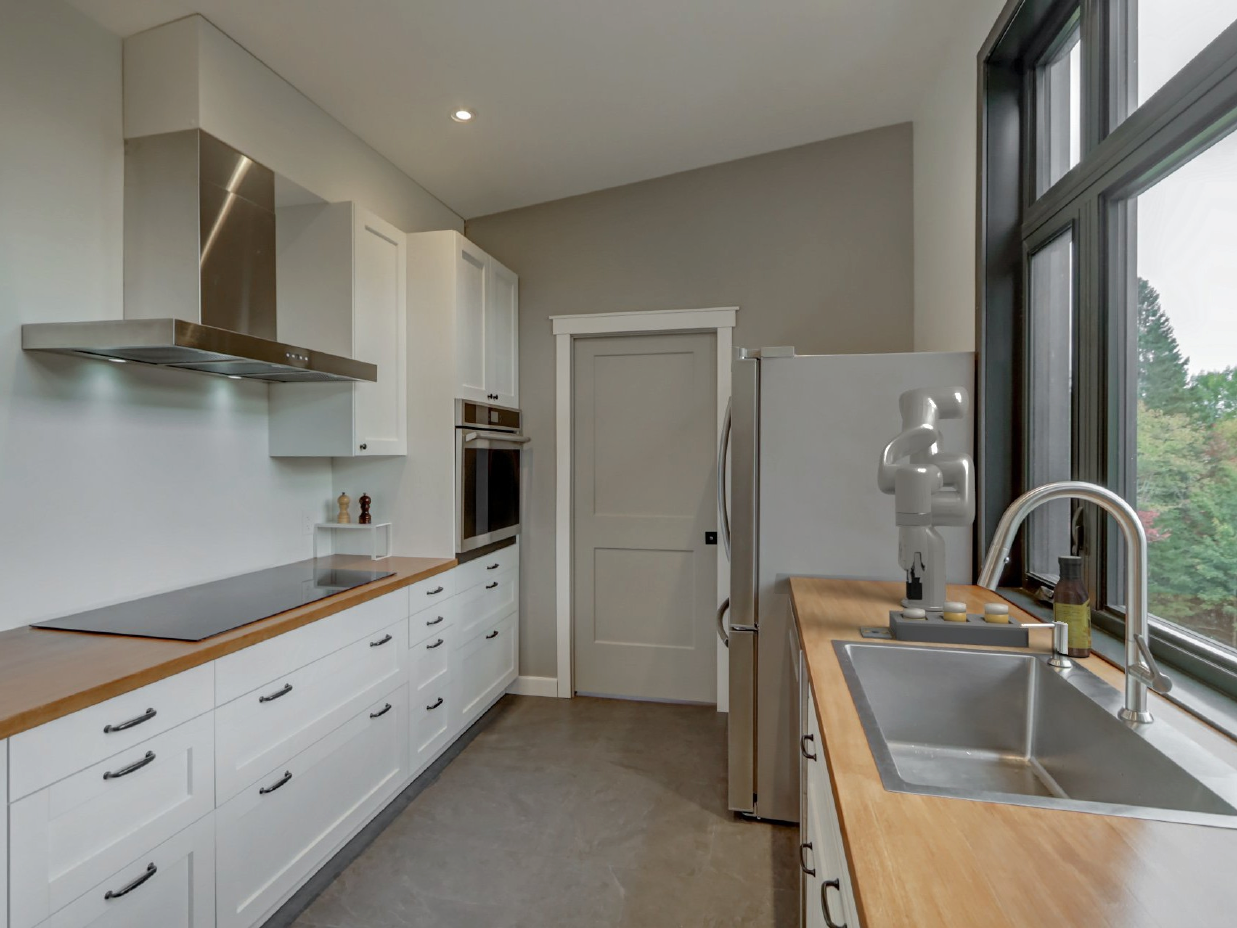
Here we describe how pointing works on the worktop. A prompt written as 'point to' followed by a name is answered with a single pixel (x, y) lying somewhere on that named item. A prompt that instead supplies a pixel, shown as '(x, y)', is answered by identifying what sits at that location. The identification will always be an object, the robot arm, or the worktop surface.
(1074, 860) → the worktop surface
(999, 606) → the button
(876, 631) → the card
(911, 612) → the button
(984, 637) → the button board
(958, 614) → the button middle
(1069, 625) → the sauce bottle
